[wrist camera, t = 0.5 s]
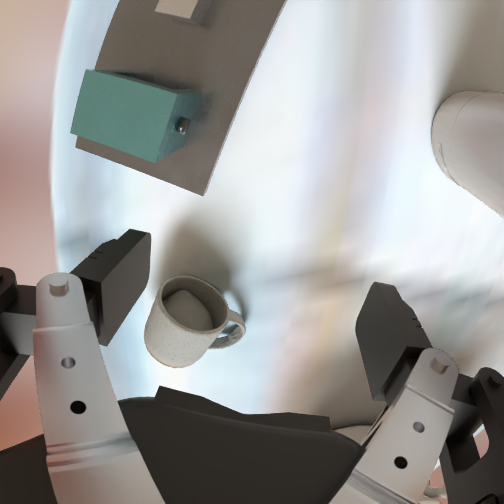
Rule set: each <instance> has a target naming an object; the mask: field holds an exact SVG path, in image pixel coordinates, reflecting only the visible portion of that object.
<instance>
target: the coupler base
mask: <svg viewBox="0 0 504 504" xmlns="http://www.w3.org/2000/svg"><path fill="white" fill-rule="evenodd" d="M286 2H287V0H120V1H119V3H118V5H117V8H116V10H115V13H114V15H113V18H112V20H111V23H110V25H109V28H108V31H107V33H106V36H105V39H104V42H103V45H102V48H101V51H100V54H99V57H98V60H97V63H96V66H95V69H94V70H124V71H128V72H132V73H134V75H133V78H135V79H139V80H143V81H146V82H150V83H153V84H157V85H160V86H164V87H167V88H170V89H190V90H194V91H197V92H200V93H201V95H200V98H199V101H198V103H197V106H196V109H195V111H194V114H193V117H192V119H191V122H190V125H189V128H188V131H187V134H186V136H185V139H184V142H183V145H182V148H180V149H178V150H176V151H175V152H173V153H171V154H170V155H168V156H166V157H164V158H163V159H161V160H159V161H158V162H156V163H153V162H150V161H148V160H145V159H142V158H140V157H137V156H134V155H131V154H129V153H126V152H123V151H120V150H118V149H115V148H112V147H109V146H107V145H104V144H101V143H98V142H95V141H92V140H89V139H87V138H84V137H81V136H77V141H76V146H75V147H76V148H78V149H81V150H84V151H87V152H89V153H92V154H95V155H98V156H100V157H103V158H106V159H108V160H111V161H114V162H116V163H119V164H122V165H124V166H127V167H130V168H132V169H135V170H137V171H140V172H143V173H145V174H148V175H150V176H153V177H156V178H158V179H161V180H163V181H166V182H168V183H171V184H174V185H176V186H179V187H181V188H184V189H186V190H189V191H191V192H194V193H196V194H199V195H201V196H204V194H205V193H206V191H207V188H208V185H209V183H210V180H211V177H212V175H213V172H214V169H215V167H216V164H217V161H218V159H219V156H220V154H221V151H222V148H223V146H224V143H225V141H226V138H227V136H228V133H229V131H230V128H231V126H232V123H233V121H234V118H235V116H236V113H237V111H238V108H239V106H240V104H241V101H242V99H243V96H244V94H245V92H246V89H247V87H248V85H249V82H250V80H251V78H252V75H253V73H254V71H255V68H256V66H257V64H258V62H259V59H260V57H261V55H262V53H263V50H264V48H265V46H266V44H267V42H268V39H269V37H270V35H271V33H272V31H273V29H274V27H275V24H276V22H277V20H278V18H279V16H280V14H281V12H282V10H283V8H284V6H285V4H286Z"/></svg>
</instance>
